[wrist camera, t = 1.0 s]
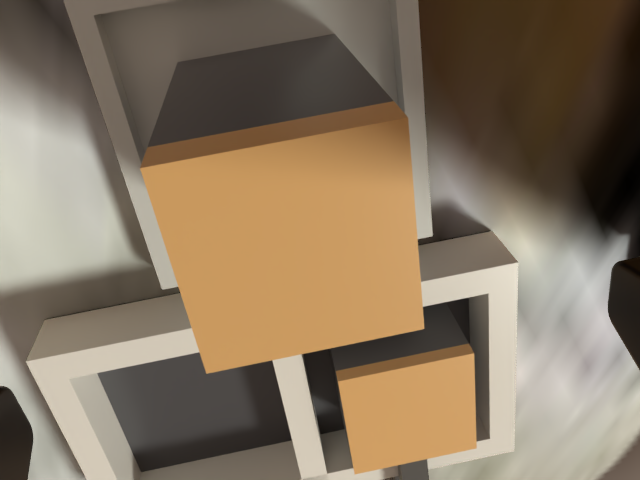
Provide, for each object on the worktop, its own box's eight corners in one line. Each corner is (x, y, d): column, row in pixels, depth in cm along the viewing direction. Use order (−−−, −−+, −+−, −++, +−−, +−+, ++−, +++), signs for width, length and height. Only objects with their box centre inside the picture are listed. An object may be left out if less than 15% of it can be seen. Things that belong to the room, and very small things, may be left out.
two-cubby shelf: (492, 231, 21) (518, 262, 19) (492, 410, 26) (514, 451, 24) (44, 320, 21) (25, 361, 19) (125, 489, 25) (116, 536, 23)
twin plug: (440, 293, 22) (474, 353, 19) (452, 502, 28) (479, 572, 25) (323, 316, 22) (338, 381, 19) (360, 522, 28) (376, 595, 25)
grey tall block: (334, 33, 17) (408, 117, 10) (353, 177, 19) (424, 328, 12) (177, 62, 17) (140, 168, 10) (214, 204, 19) (206, 373, 12)
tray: (401, -69, 16) (413, -68, 15) (422, 219, 21) (432, 236, 20) (72, -11, 16) (61, -6, 15) (165, 270, 20) (162, 290, 19)
